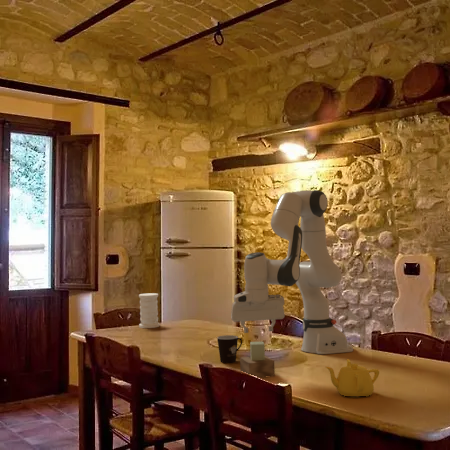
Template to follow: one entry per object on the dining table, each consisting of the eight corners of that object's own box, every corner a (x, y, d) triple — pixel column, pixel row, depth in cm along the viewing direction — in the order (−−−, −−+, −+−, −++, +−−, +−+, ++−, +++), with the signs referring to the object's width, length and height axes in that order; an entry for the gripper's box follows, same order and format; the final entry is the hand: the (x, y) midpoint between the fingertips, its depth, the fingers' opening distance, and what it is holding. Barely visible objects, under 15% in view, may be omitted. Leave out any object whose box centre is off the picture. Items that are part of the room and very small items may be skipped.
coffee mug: (220, 364, 243) (220, 340, 243) (215, 360, 251) (214, 336, 251) (248, 362, 246) (247, 337, 246) (241, 357, 254) (241, 334, 254)
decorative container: (163, 325, 338) (163, 293, 338) (150, 328, 328) (150, 296, 328) (148, 323, 344) (147, 292, 344) (134, 327, 335) (133, 295, 334)
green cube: (263, 357, 229) (263, 341, 229) (264, 360, 224) (264, 344, 224) (250, 357, 229) (250, 341, 229) (251, 360, 224) (251, 344, 224)
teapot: (348, 385, 208) (347, 357, 207) (383, 392, 198) (382, 363, 198) (325, 395, 198) (324, 365, 198) (360, 402, 188) (359, 371, 188)
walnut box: (264, 370, 233) (264, 355, 233) (274, 376, 223) (274, 360, 223) (240, 373, 230) (240, 357, 230) (249, 379, 220) (249, 363, 220)
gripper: (282, 293, 230) (284, 328, 231) (229, 295, 229) (231, 331, 230) (285, 295, 224) (286, 331, 225) (231, 298, 223) (232, 335, 223)
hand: (258, 331), depth 227 cm, fingers open, 8 cm apart
